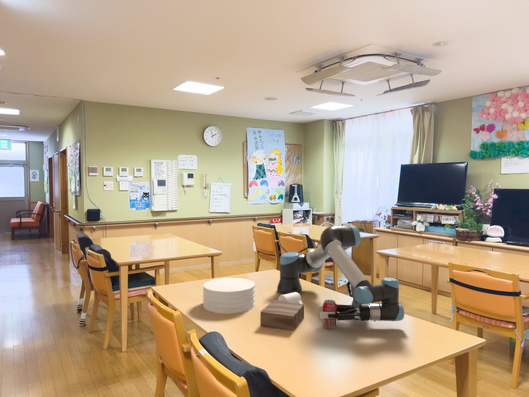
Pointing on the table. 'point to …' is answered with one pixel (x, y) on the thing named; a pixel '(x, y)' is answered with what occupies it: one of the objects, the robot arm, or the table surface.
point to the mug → (291, 298)
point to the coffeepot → (354, 302)
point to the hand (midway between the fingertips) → (319, 311)
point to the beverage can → (329, 307)
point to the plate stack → (229, 295)
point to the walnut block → (282, 315)
